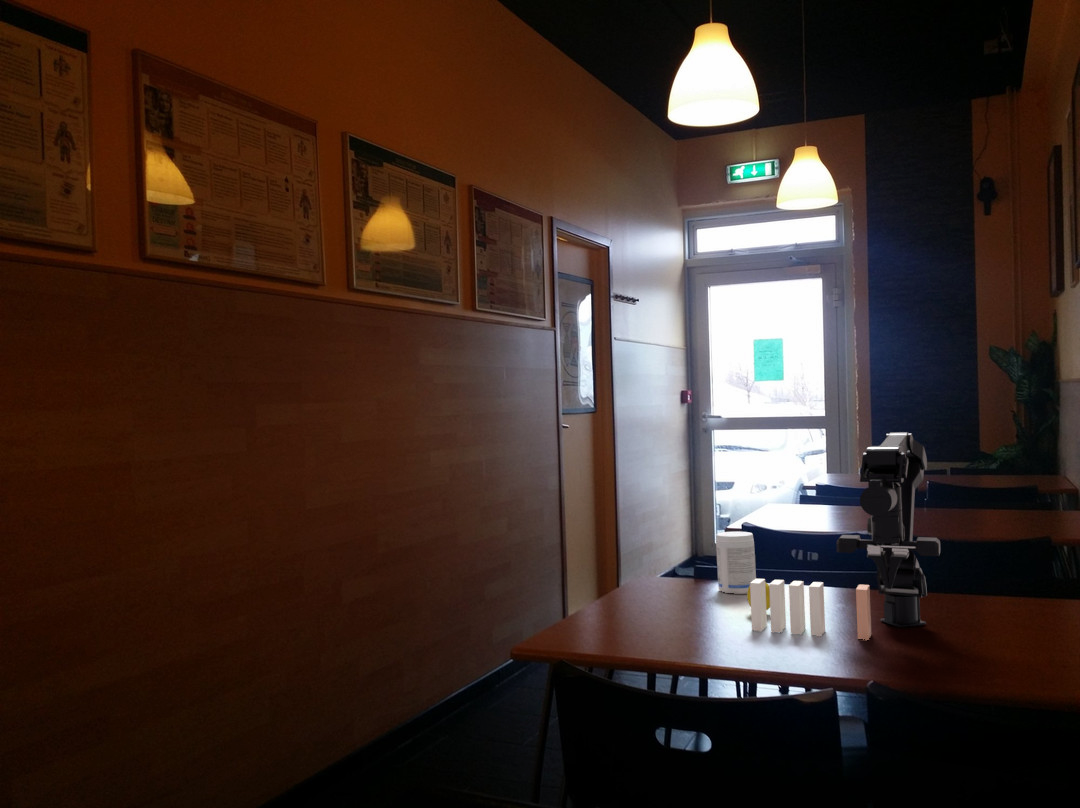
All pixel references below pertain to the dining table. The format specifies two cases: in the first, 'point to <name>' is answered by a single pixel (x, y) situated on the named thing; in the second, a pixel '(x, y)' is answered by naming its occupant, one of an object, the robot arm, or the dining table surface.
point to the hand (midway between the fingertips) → (889, 588)
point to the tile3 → (797, 607)
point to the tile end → (758, 604)
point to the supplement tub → (735, 561)
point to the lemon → (766, 596)
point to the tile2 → (817, 608)
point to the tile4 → (777, 605)
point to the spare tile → (863, 612)
